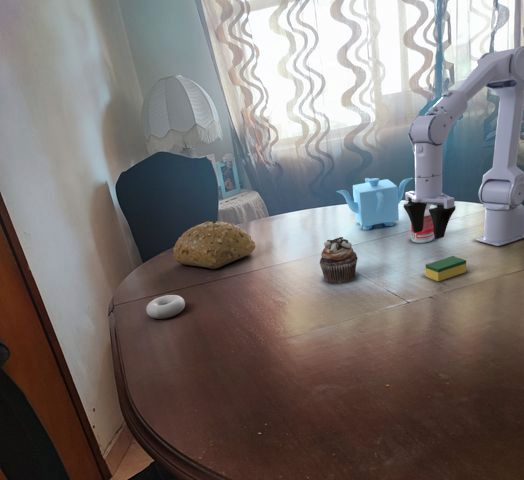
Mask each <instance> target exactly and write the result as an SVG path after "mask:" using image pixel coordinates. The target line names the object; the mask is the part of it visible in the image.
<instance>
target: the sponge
mask: <svg viewBox="0 0 524 480" xmlns="http://www.w3.org/2000/svg"><path fill="white" fill-rule="evenodd" d="M466 272H467V259H464V258H462V257H461V258H460V257H458V256H454V255H451V256H448V257H445V258H441V259H439V260H435V261H433V262H430V263H426V264H425V277H426V278H428V279H430V280H432V281H433V280H434V281H436V282H440V281H444V280H447V279H450V278H452V277H456V276H459V275H462V274H465V273H466Z"/></svg>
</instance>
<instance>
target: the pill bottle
mask: <svg viewBox="0 0 524 480" xmlns="http://www.w3.org/2000/svg"><path fill="white" fill-rule="evenodd" d="M431 206H432V205H431V204H427V205H426V209H425V213H424V224H423V231H421V232H417V233H414V231H413V228H412V224H411V223H410V237H411V241H412V242H413V243H417V244H424V243H429V242H431V241H433V240H434V239H435V237H434V229H433V221H432V217H431V215H430V212H429V209H432V208H433V207H431Z"/></svg>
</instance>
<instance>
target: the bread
mask: <svg viewBox="0 0 524 480" xmlns="http://www.w3.org/2000/svg"><path fill="white" fill-rule="evenodd" d="M177 239H178V240H176V242H175V245H174V246H173V249H172V250H173V252H172V253H173V254H172V258H173V259H174V260H175V262H177V263H178V264H180V265H185V266H192V267H200V268H208V269H210V270H215V269H220V268H221V267H223V266H226V265H229V264H231V263H233V262H235V261H238V260H240V259H243V258H245V257H246V256H248V255H250V254H251V253H253V252H254V250H255V249H256V243H255V241H254V240H253V239H252V236H251V235H250V234H249V233H247V232H246V230H244V229H243V228H241V227H239V226H236V225H235V223H229V222H226V221H216V220H213V221H205V222H201V223H200V224H199V223H198V224H197V225H194V226H192V227H190V228H188V229H187V230H186V231H184V232H183V233H182V234H181V236H180V237H178V238H177Z"/></svg>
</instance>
